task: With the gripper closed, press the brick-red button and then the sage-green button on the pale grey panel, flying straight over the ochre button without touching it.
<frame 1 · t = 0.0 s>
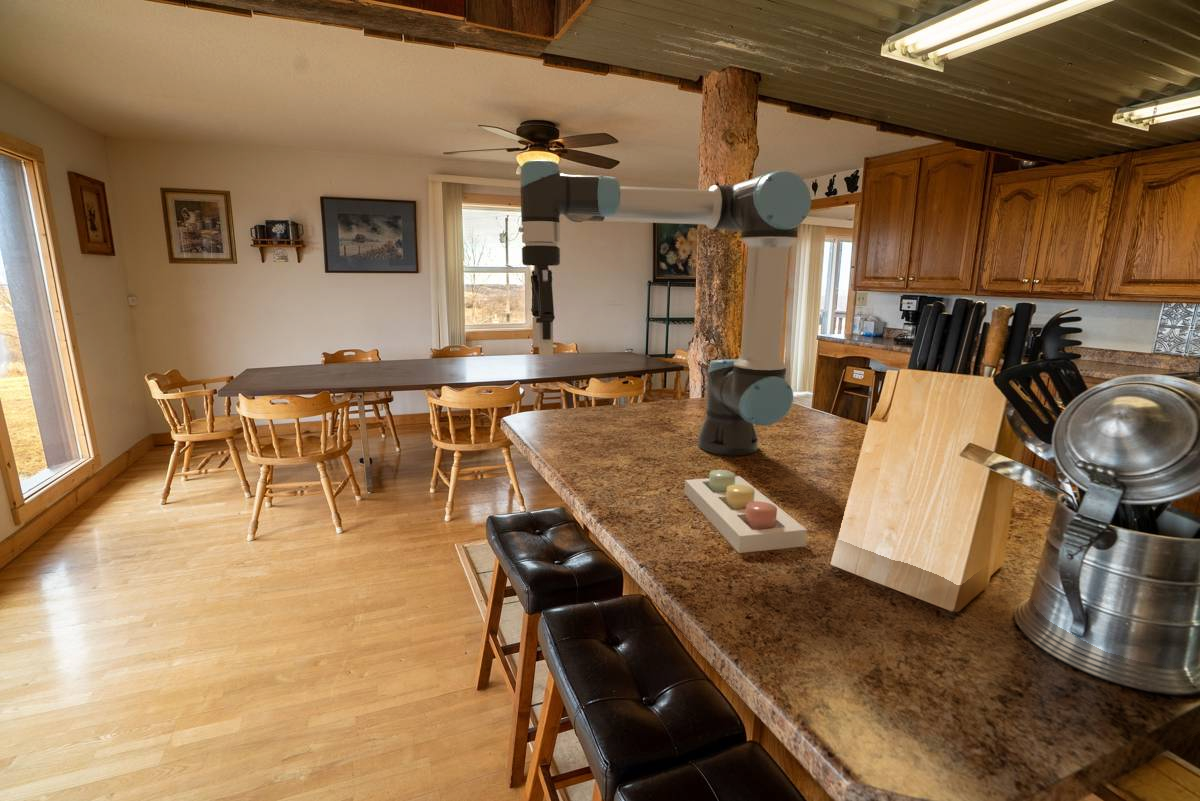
hand: (542, 351, 115), 28 cm above the kitchen island, fingers open, 13 cm apart
ochre button: (740, 497, 102), point 4 cm above the kitchen island, slide at 0.0 cm
sage button: (721, 481, 110), point 4 cm above the kitchen island, slide at 0.0 cm
panel: (738, 517, 103), on the kitchen island
brick button: (761, 515, 95), point 4 cm above the kitchen island, slide at 0.0 cm
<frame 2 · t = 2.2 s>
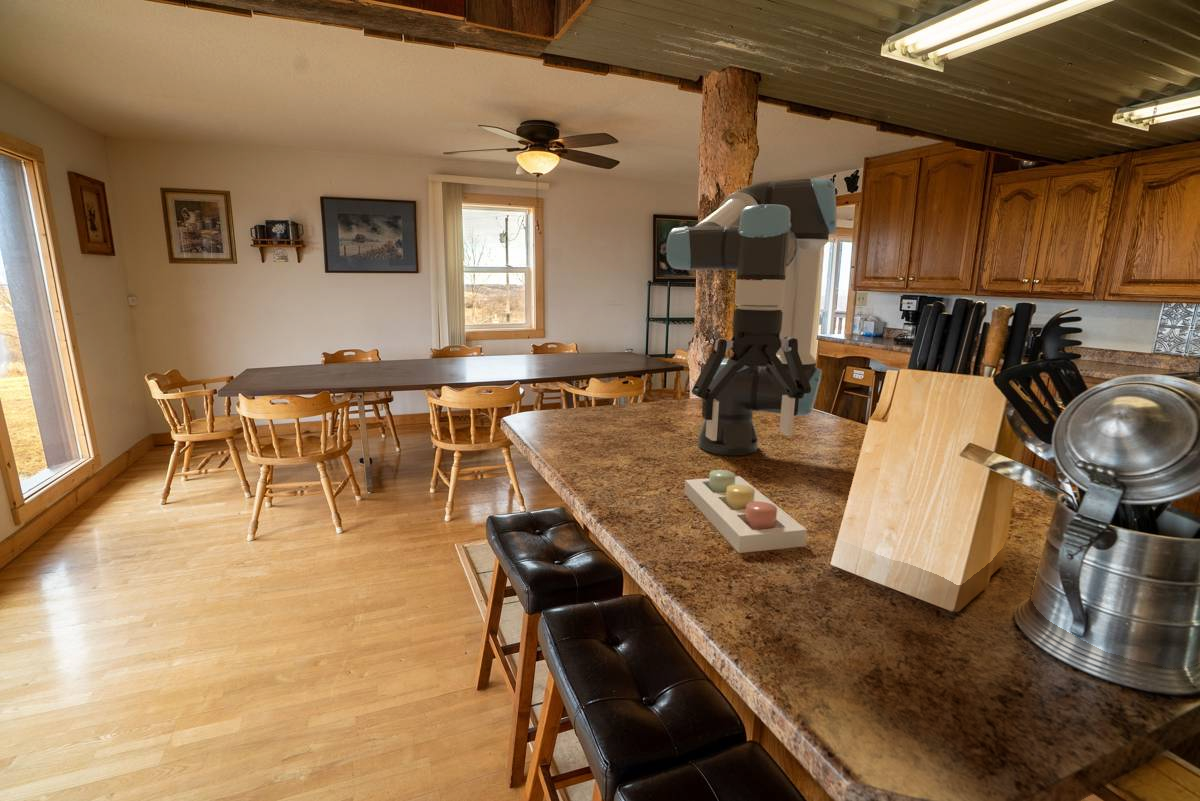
hand: (748, 436, 93), 18 cm above the kitchen island, fingers open, 13 cm apart
nothing on the kitchen island moved.
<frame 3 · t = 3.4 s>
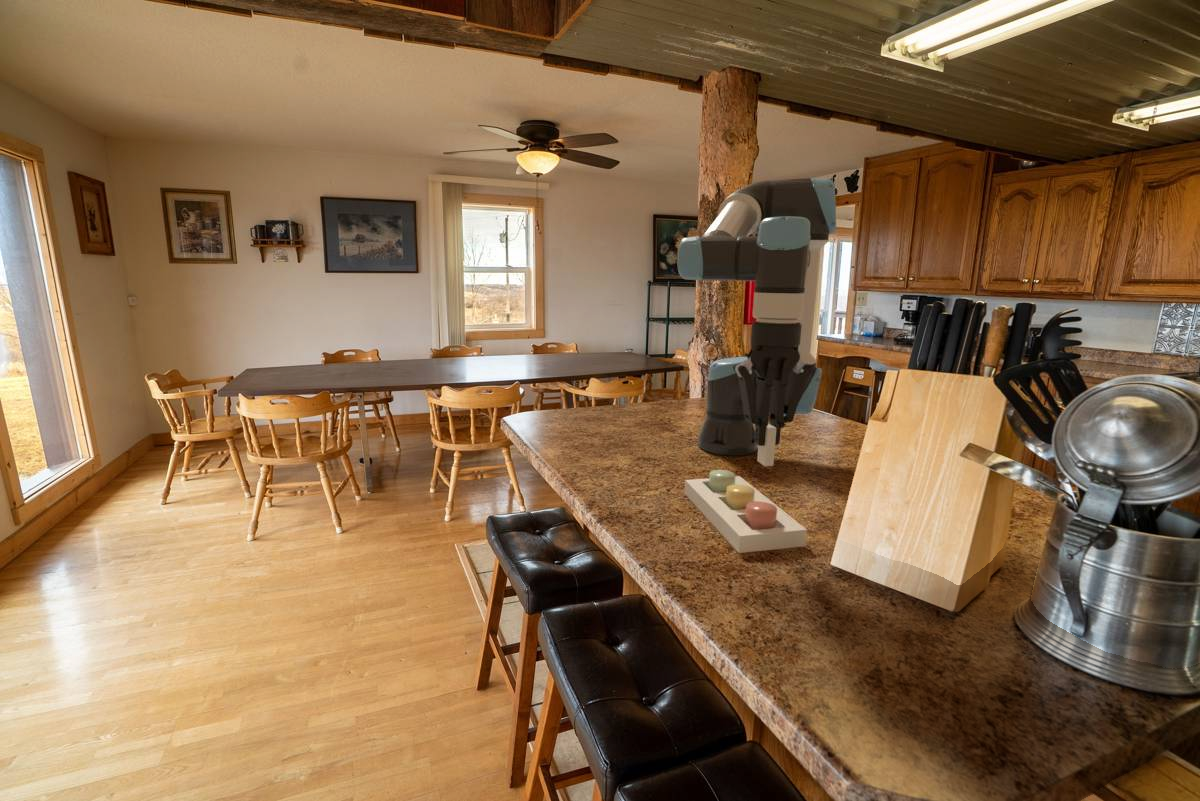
hand: (765, 463, 92), 13 cm above the kitchen island, fingers closed
nothing on the kitchen island moved.
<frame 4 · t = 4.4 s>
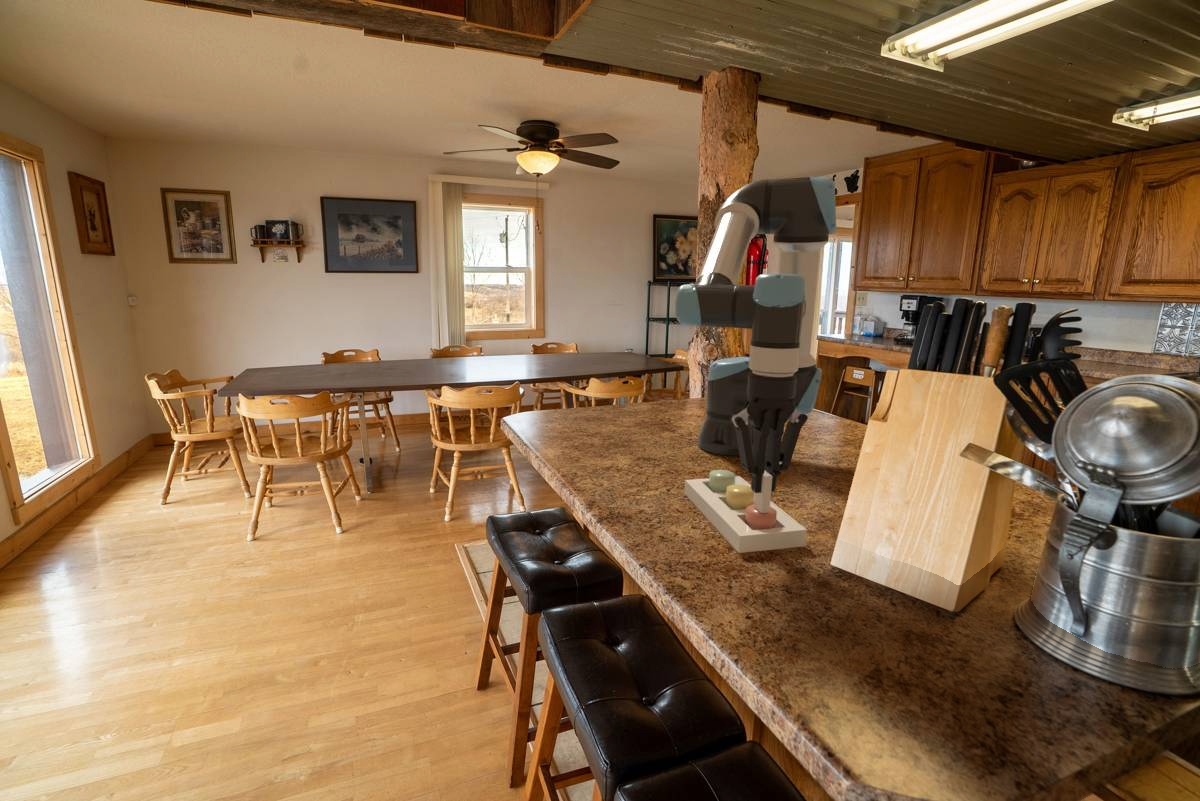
hand: (761, 509, 94), 5 cm above the kitchen island, fingers closed
brick button: (760, 518, 95), point 3 cm above the kitchen island, slide at 0.6 cm, touching gripper
everything else where it was.
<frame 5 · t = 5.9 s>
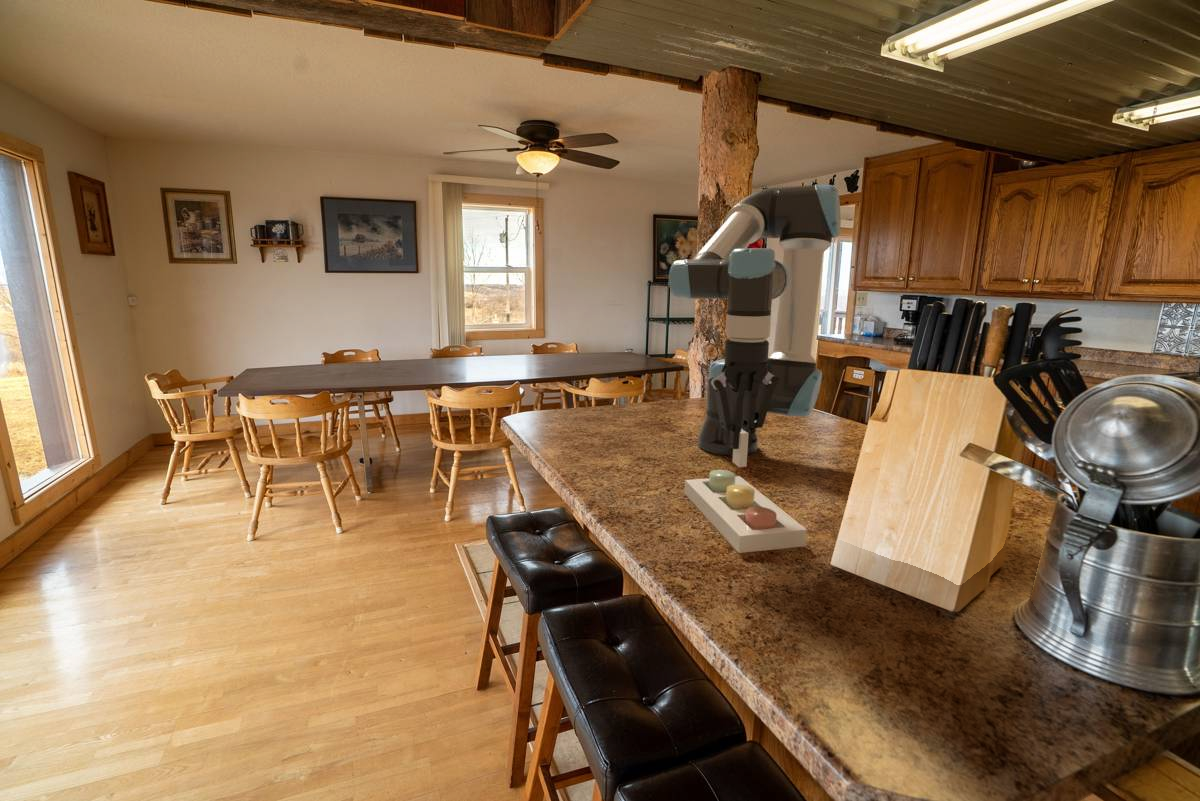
hand: (739, 464, 104), 9 cm above the kitchen island, fingers closed
brick button: (760, 520, 95), point 3 cm above the kitchen island, slide at 1.0 cm
everything else where it was.
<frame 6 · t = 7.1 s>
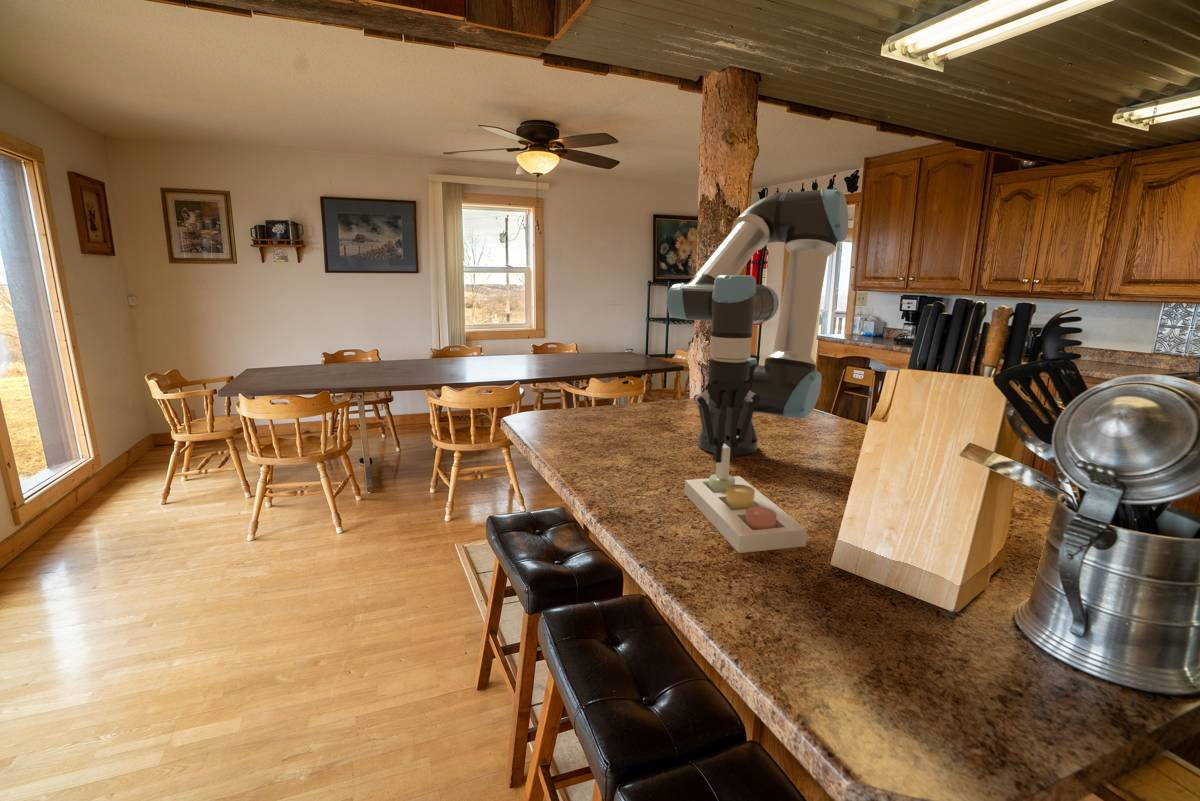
hand: (721, 477, 109), 5 cm above the kitchen island, fingers closed
sage button: (721, 485, 110), point 3 cm above the kitchen island, slide at 0.8 cm, touching gripper
everything else where it was.
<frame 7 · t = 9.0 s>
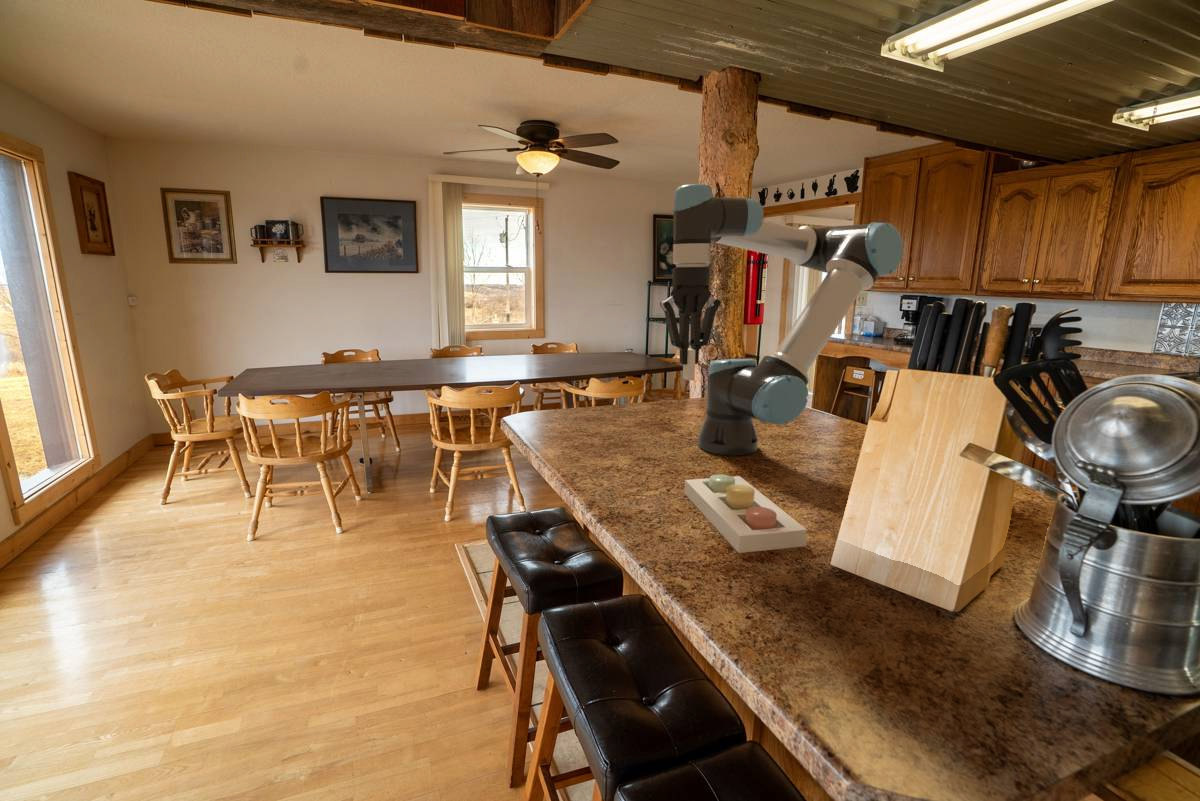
hand: (688, 379, 119), 22 cm above the kitchen island, fingers closed
sage button: (721, 486, 110), point 3 cm above the kitchen island, slide at 1.0 cm
everything else where it was.
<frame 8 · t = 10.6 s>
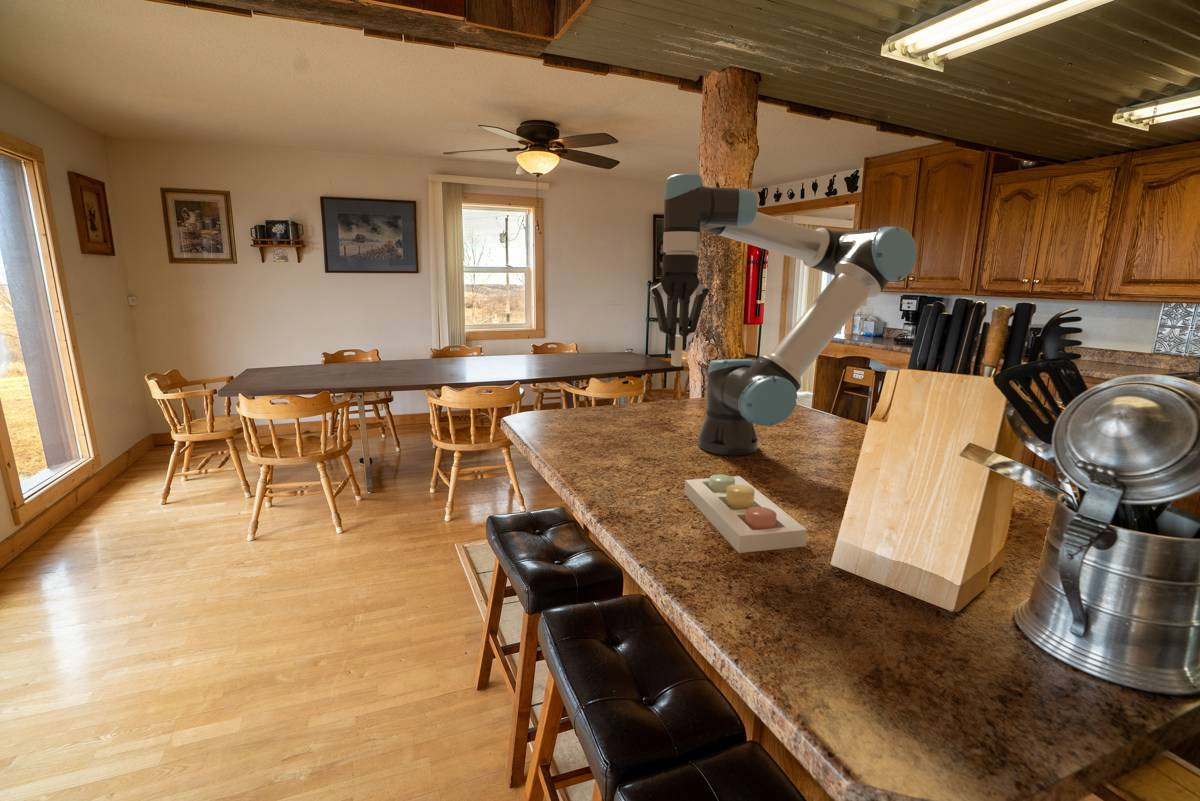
hand: (676, 365, 121), 24 cm above the kitchen island, fingers closed
nothing on the kitchen island moved.
at the end: brick button slide at 1.0 cm; sage button slide at 1.0 cm; ochre button slide at 0.0 cm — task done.
